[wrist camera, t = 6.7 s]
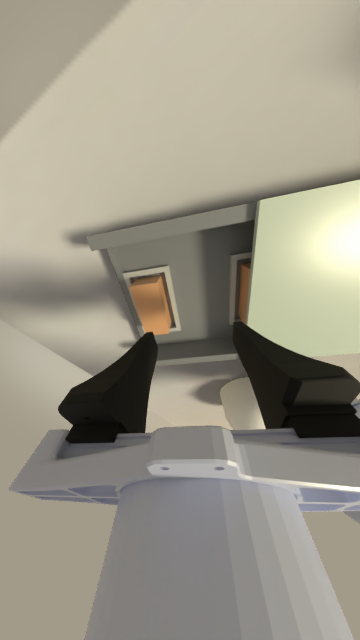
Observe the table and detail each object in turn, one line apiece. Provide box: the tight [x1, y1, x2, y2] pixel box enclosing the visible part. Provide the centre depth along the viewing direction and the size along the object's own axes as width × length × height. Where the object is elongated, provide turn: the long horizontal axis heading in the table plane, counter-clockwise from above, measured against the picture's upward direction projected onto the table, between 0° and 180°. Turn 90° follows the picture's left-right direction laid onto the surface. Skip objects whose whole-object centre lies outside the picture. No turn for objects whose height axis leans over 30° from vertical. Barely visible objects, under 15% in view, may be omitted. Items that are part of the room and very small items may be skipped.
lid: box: [245, 180, 360, 357], centre depth 14 cm, size 18×18×1 cm
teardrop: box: [220, 377, 266, 430], centre depth 28 cm, size 11×11×12 cm
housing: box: [86, 202, 257, 366], centre depth 18 cm, size 18×21×5 cm
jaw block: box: [129, 275, 171, 335], centre depth 19 cm, size 7×3×3 cm, turn 9°
